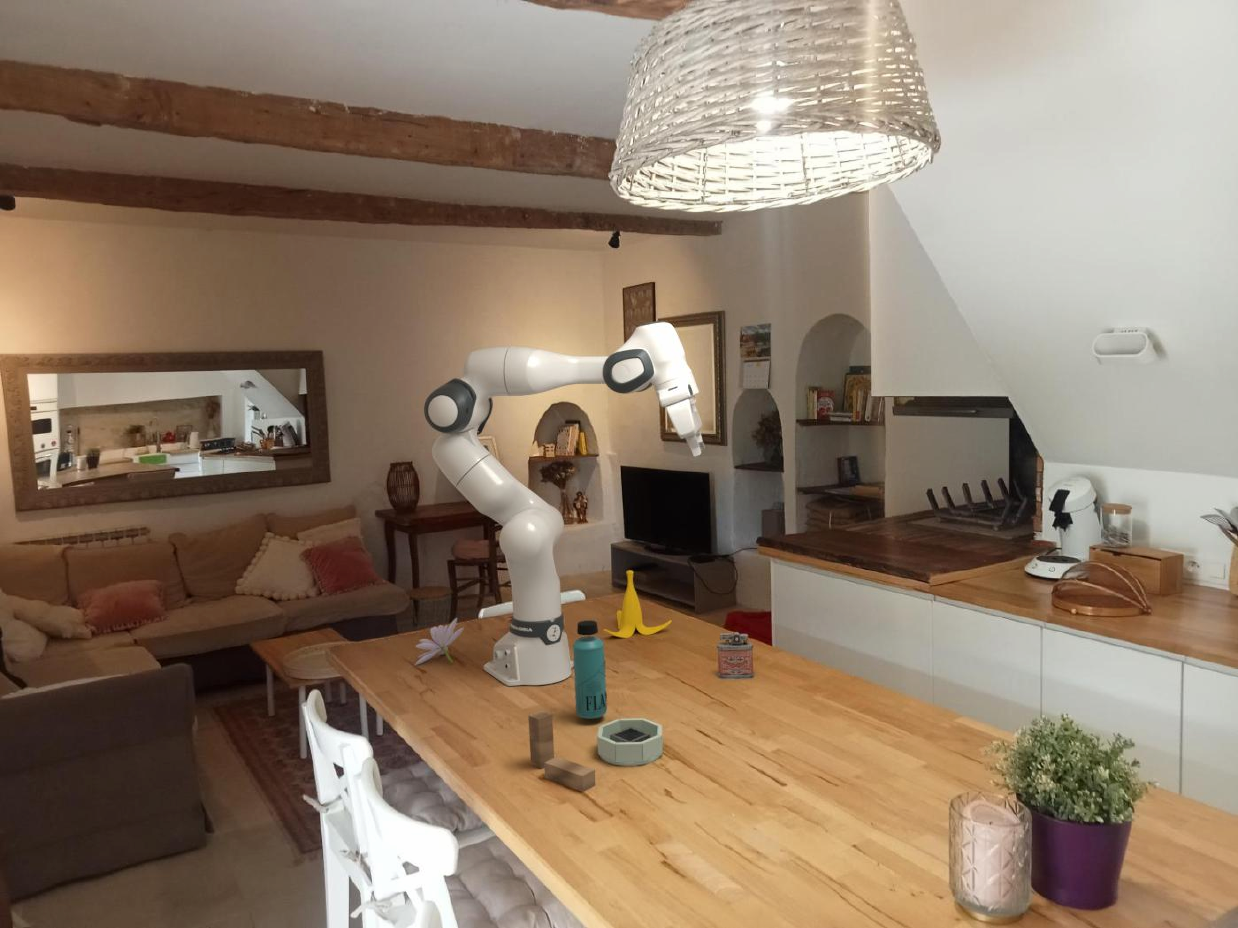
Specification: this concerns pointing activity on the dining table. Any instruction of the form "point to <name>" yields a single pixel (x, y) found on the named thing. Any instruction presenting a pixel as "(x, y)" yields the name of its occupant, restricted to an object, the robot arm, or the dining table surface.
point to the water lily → (438, 641)
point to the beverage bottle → (589, 672)
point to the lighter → (735, 657)
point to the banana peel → (632, 614)
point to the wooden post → (541, 738)
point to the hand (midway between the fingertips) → (699, 452)
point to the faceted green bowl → (630, 743)
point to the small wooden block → (569, 774)
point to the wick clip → (630, 735)
